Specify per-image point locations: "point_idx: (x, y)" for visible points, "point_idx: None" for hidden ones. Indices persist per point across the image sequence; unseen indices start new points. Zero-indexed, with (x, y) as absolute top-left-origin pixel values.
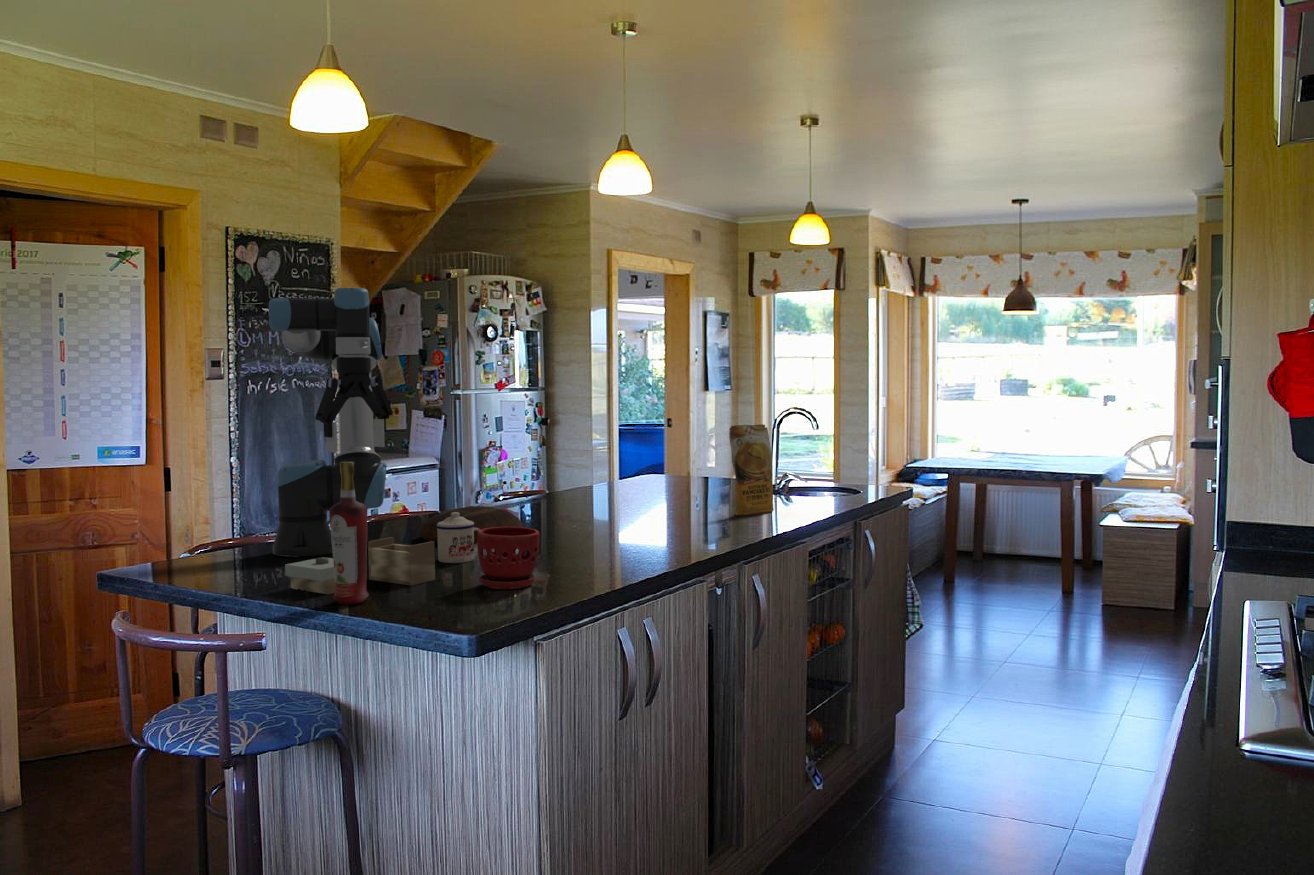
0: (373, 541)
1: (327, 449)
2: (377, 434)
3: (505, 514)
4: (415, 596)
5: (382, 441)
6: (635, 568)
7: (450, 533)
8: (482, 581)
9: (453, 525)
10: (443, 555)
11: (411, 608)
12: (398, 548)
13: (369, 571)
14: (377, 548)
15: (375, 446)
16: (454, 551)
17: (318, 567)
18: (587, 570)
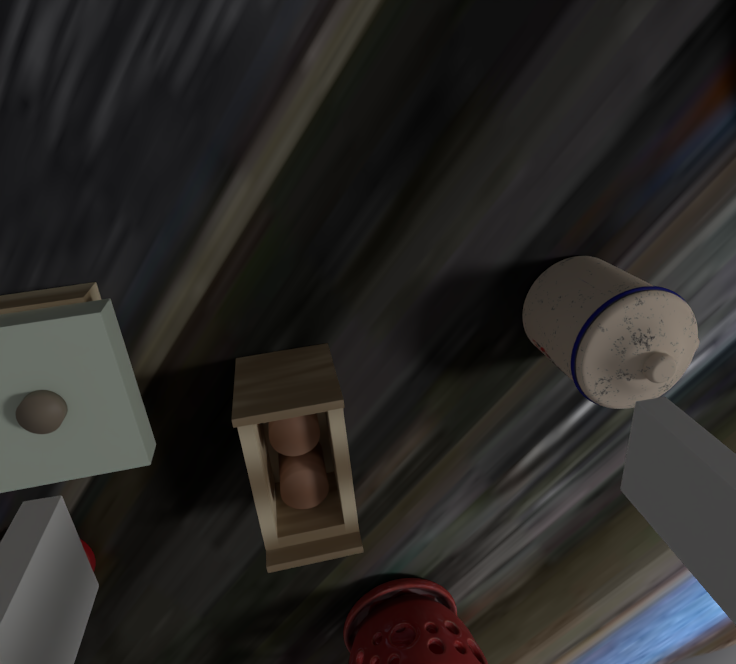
0: (250, 423)
1: (17, 527)
2: (716, 528)
3: None
4: (202, 583)
5: (658, 525)
6: (645, 628)
7: (570, 376)
8: (346, 621)
9: (590, 396)
10: (530, 322)
11: (131, 657)
12: (329, 422)
13: (235, 371)
14: (249, 433)
15: (635, 414)
16: (546, 356)
17: (2, 461)
18: (593, 594)
